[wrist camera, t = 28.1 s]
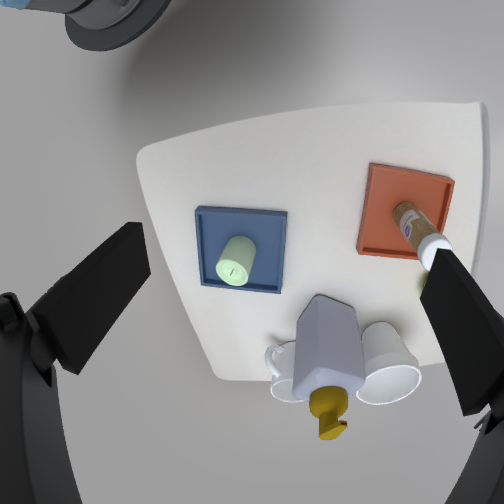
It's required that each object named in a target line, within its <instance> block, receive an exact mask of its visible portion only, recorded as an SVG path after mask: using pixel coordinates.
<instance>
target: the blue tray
mask: <svg viewBox="0 0 504 504" xmlns="http://www.w3.org/2000/svg"><path fill="white" fill-rule="evenodd" d="M286 222H287V212H281V211H268V210H254V209H238V208H222V207H203V206H199V207H198V208H197V209H196V210H195V223H196V236H197V248H198V259H199V270H200V280H201V285H202V286H210V287H219V288H227V289H236V290H246V291H255V292H265V293H275V294H281V287H282V275H283V263H284V250H285V236H286ZM235 236H245V237H247V238H249V239H251V240H252V241H253V243H254V244H255V247H256V254H255V258H254V261H253V264H252V267H251V271H250V274H249V277H248V281H247V282H246V284H244V285H241V286H233V285H230V284H228V283H226V282H224V281H223V280H222V279H221V278H220V277H219V276H218V274H217V272H216V265H217V263H218V261H219V259H220V257H221V255H222V253H223V251H224V249H225V247H226V245H227V243H228V241H229V240H230V239H231V238H233V237H235Z"/></svg>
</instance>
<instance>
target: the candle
mask: <svg viewBox="0 0 504 504" xmlns="http://www.w3.org/2000/svg"><path fill="white" fill-rule="evenodd" d="M255 254H256V247H255V244H254V243H253V241H252V240H251V239H249V238H247V237H245V236H235V237H233V238H231V239H230V240H229V241H228V243H227V245H226V247H225V249H224V251H223V253H222V255H221V257H220V259H219V261H218V263H217V265H216V272H217V274H218V276H219V277H220V278H221V279H222V280H223V281H224V282H226V283H228V284H230V285H233V286H241V285H244V284H246V282H247V281H248V277H249V274H250V271H251V267H252V264H253V261H254V258H255Z"/></svg>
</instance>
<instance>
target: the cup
mask: <svg viewBox="0 0 504 504" xmlns="http://www.w3.org/2000/svg"><path fill="white" fill-rule="evenodd" d="M361 347H362V353H363V360H364V367H365V374H366V380H365V383H364V385H363V386H362V387H361V388H360V389H359V390H358V391H356V395H357V398H358V399H359V400H361V401H362V402H365V403H368V404H373V405H374V404H375V405H379V404H380V405H381V404H387V403H392V402H395V401H398V400H400V399H402V398H404V397H406V396H407V395H409V394H410V393H412V392H413V391H414V390H415V389H416V388H417V386H418V385H419V384H420V381H421V372H420V369H419V364H418V360H417V359H416V357H414V356H413V355H412V354H411V353H410V351H409V350H408V348H407V347H406V345H405V344H404V343H403V341H402V340H401V338H400V337H399V335H398V334H397V332H396V331H395V329H394V328H393V326H392V325H391V324H389V323H387V322H377V323H374V324H372V325H370V326H369V327H367V328H366V329H365V331H364V333H363V336H362V343H361Z"/></svg>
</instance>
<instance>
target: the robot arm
mask: <svg viewBox="0 0 504 504" xmlns="http://www.w3.org/2000/svg"><path fill="white" fill-rule="evenodd" d="M143 1H144V0H0V4H1V5H2V6H5V7H11V8H17V9H19V10H22V9H31V10H40V11H49V12H56V13H63V14H67V15H68V16H69V17H71V18H72V20H73V21H74V22H75V21H76V22H77V23H78V24H79V25H80V26H82V27H84V28H87V29H91V30H105V29H109V28H112V27H114V26H116V25H118V24H120V23H121V22H123V21H124V20H126V19H127V18H128V17H129V16H131V15H132V14H133V13H134V12H135V11H136V10H137V9H138V7H139V6H140V5H141V4H142V2H143ZM76 22H75V23H76ZM150 275H151V272H150V267H149V261H148V256H147V250H146V245H145V239H144V232H143V226H142V223H140V222H127V223H126V224H125V225H124V226H122V227H121V228H120V229H119V230H118V231H116V232H115V233H114V234H113V235H112V236H110V237H109V238H108V239H107V240H106V241H104V242H103V243H102V244H101V245H100V246H99V247H97V248H96V249H95V250H94V251H93V252H92V253H91V254H90V255H88V256H87V257H86V258H85V259H84V260H83V261H82V262H81V263H79V264H78V265H77V266H76V267H75V268H74V269H73V270H72V271H71V272H70V273H68V274H66V275H65V276H63V277H61V278H60V279H59V280H58V281H57V282H56V283H55V284H54V286H53V287H51V288H50V289H49V290H48V291H47V293H45V294H44V295H43V296H42V297H41V298H40V299H39V300H38V301H37V302H36V303H35V304H34V305H33V306H32V307H31V308H30V309H29V310H28V311H27V312H26V313H24V311H23V309H22V307H21V305H20V303H19V301H18V298H17V296H16V295H15V294H14V293H11V292H7V293H3V294H1V295H0V504H82V501H81V498H80V494H79V491H78V488H77V485H76V481H75V478H74V475H73V471H72V467H71V463H70V459H69V455H68V450H67V446H66V441H65V436H64V431H63V425H62V419H61V412H60V405H59V397H58V388H57V377H56V369H55V366H54V365H53V362H54V361H55V360H56V358H57V359H58V361H59V363H60V364H61V366H62V368H63V369H65V370H67V371H69V372H72V373H74V374H76V375H79V373H80V372H81V370H82V369H83V367H84V366H85V364H86V363H87V361H88V359H89V358H90V357H91V355H92V354H93V352H94V351H95V349H96V348H97V346H98V345H99V344H100V342H101V341H102V339H103V338H104V336H105V335H106V334H107V332H108V331H109V329H110V328H111V327H112V325H113V324H114V323H115V321H116V320H117V318H118V317H119V316H120V314H121V313H122V312H123V310H124V309H125V307H126V306H127V305H128V303H129V302H130V301H131V299H132V298H133V297H134V295H135V294H136V293H137V291H138V290H139V289H140V288H141V286H142V285H143V284H144V282H145V281H146V280H147V278H148V277H149V276H150ZM420 301H421V303H422V305H423V307H424V310H425V312H426V314H427V316H428V319H429V321H430V323H431V326H432V328H433V330H434V333H435V335H436V338H437V340H438V342H439V345H440V348H441V350H442V353H443V355H444V358H445V361H446V363H447V366H448V369H449V372H450V374H451V377H452V380H453V383H454V386H455V390H456V393H457V396H458V399H459V402H460V406H461V409H462V412H463V416H468V415H473V414H477V413H480V411H481V410H482V409H483V408H484V407H485V406H486V405H487V404H488V403H489V405H490V408H491V410H490V411H489V412H488V413H487V414H486V415H485V416H484V417H483V418H482V419H481V420H480V421H479V422H478V423H477V424H476V425H475V427H474V428H475V429H476V428H478V426H480V425H481V424H482V423H483V425H482V427H481V429H480V430H479V431H480V433H479V435H478V438H477V440H476V443H475V445H474V448H473V450H472V452H471V454H470V456H469V459H468V461H467V463H466V465H465V467H464V469H463V471H462V473H461V476H460V477H459V479H458V481H457V483H456V485H455V486H454V488H453V490H452V492H451V494H450V495H449V497H448V499H447V501H446V502H445V504H504V318H503V317H502V316H501V315H500V314H499V313H498V312H497V311H496V310H495V309H494V308H493V306H492V305H491V304H490V302H489V300H488V299H487V297H486V296H485V295H484V293H483V292H482V290H481V289H480V287H479V286H478V285H477V283H476V282H475V280H474V279H473V278H472V276H471V275H470V274H469V272H468V271H467V270H466V268H465V267H464V266H463V264H462V263H461V262H460V261H459V259H458V258H457V257H456V256H455V254H454V253H453V252H452V251H451V249H443V248H437V250H436V253H435V257H434V260H433V263H432V266H431V269H430V272H429V275H428V277H427V280H426V283H425V286H424V288H423V291H422V294H421V296H420Z"/></svg>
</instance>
